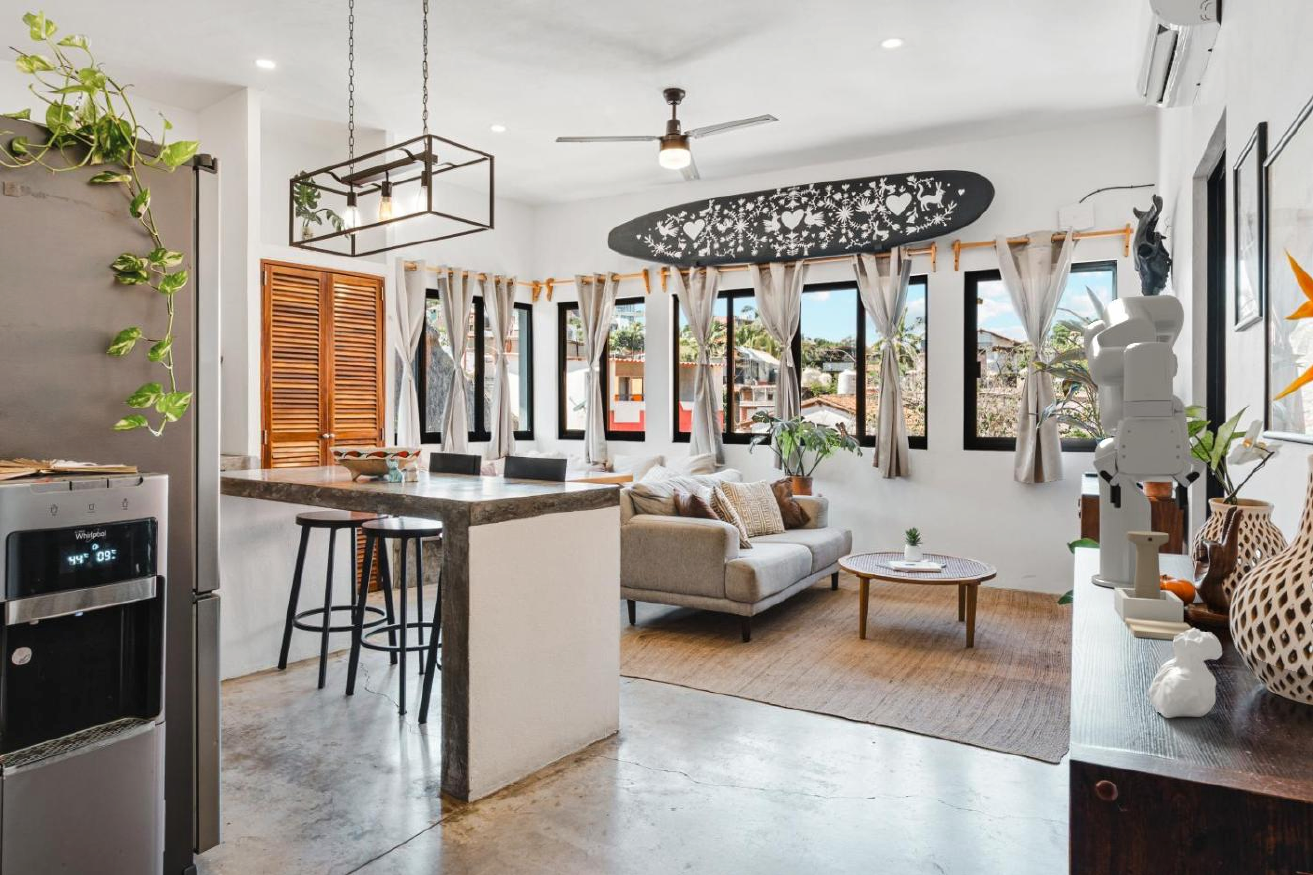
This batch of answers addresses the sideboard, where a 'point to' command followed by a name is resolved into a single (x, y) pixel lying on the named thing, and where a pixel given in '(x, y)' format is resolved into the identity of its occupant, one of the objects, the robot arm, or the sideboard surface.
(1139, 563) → the handle
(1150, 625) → the oak board
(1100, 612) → the sideboard surface
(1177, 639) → the white tied sack
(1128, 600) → the white open box
